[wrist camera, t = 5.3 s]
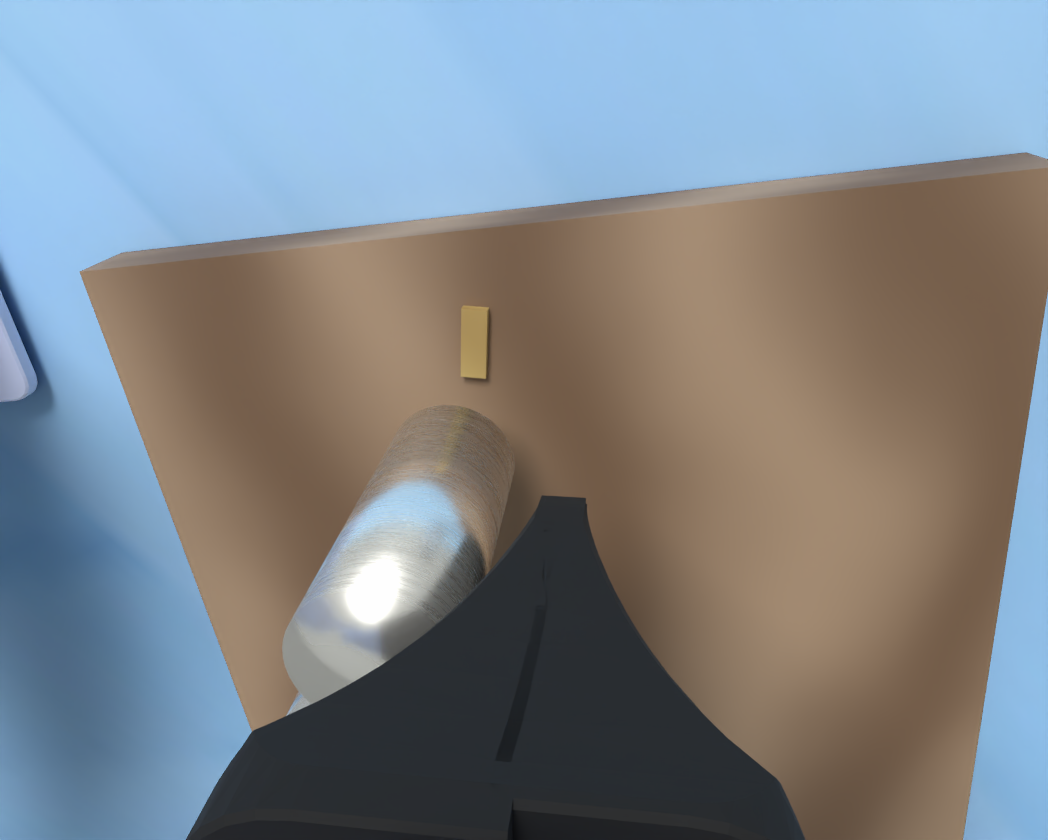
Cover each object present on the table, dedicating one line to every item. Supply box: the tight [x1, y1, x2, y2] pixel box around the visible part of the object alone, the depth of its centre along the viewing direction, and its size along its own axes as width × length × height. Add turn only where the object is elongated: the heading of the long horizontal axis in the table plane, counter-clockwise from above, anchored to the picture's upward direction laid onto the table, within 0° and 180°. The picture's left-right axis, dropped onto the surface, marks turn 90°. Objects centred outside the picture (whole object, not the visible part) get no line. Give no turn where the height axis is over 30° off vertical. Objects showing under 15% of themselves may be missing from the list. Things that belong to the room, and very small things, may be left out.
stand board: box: [80, 153, 1048, 840], centre depth 19 cm, size 18×20×2 cm
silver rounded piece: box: [282, 405, 514, 716], centre depth 16 cm, size 15×9×6 cm, turn 179°
